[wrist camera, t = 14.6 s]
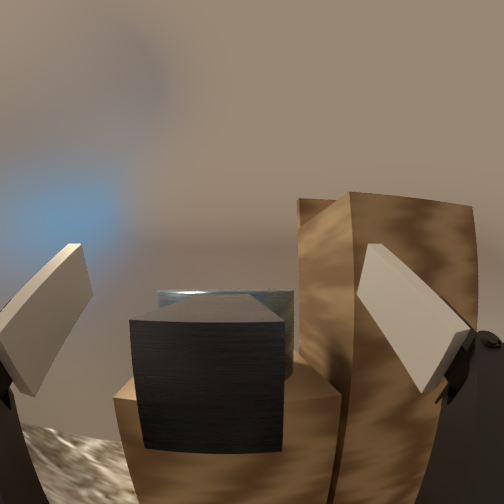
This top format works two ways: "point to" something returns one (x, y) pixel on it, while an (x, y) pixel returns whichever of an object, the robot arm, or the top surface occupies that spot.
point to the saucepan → (213, 369)
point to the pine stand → (334, 371)
